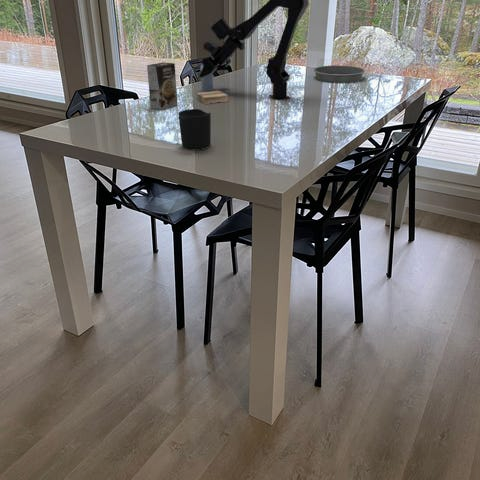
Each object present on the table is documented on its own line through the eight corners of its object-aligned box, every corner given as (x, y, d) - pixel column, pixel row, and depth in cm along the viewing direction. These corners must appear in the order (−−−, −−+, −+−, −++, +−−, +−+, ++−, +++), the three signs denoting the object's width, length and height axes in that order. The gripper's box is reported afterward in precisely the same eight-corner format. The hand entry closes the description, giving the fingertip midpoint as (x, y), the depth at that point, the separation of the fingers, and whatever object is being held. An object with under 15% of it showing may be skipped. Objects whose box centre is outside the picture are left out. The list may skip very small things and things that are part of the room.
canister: (215, 92, 212) (214, 66, 206) (204, 93, 210) (202, 67, 204) (210, 90, 216) (209, 64, 210) (200, 91, 214) (198, 65, 209)
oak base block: (228, 101, 196) (228, 95, 195) (205, 104, 193) (205, 97, 192) (219, 96, 204) (218, 90, 203) (196, 99, 201) (196, 92, 200)
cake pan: (303, 77, 242) (303, 67, 239) (344, 72, 250) (344, 63, 248) (331, 86, 222) (332, 76, 220) (374, 81, 231) (375, 71, 229)
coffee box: (161, 110, 185) (158, 66, 177) (150, 108, 188) (145, 64, 180) (178, 105, 191) (175, 63, 183) (166, 103, 194) (163, 61, 187)
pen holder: (212, 140, 151) (210, 108, 146) (211, 150, 143) (210, 116, 138) (182, 141, 151) (179, 109, 146) (179, 151, 143) (177, 117, 138)
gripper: (223, 31, 207) (201, 57, 216) (205, 36, 192) (182, 63, 201) (240, 51, 209) (218, 76, 218) (223, 58, 193) (200, 84, 202)
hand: (204, 75), depth 210 cm, fingers open, 9 cm apart
